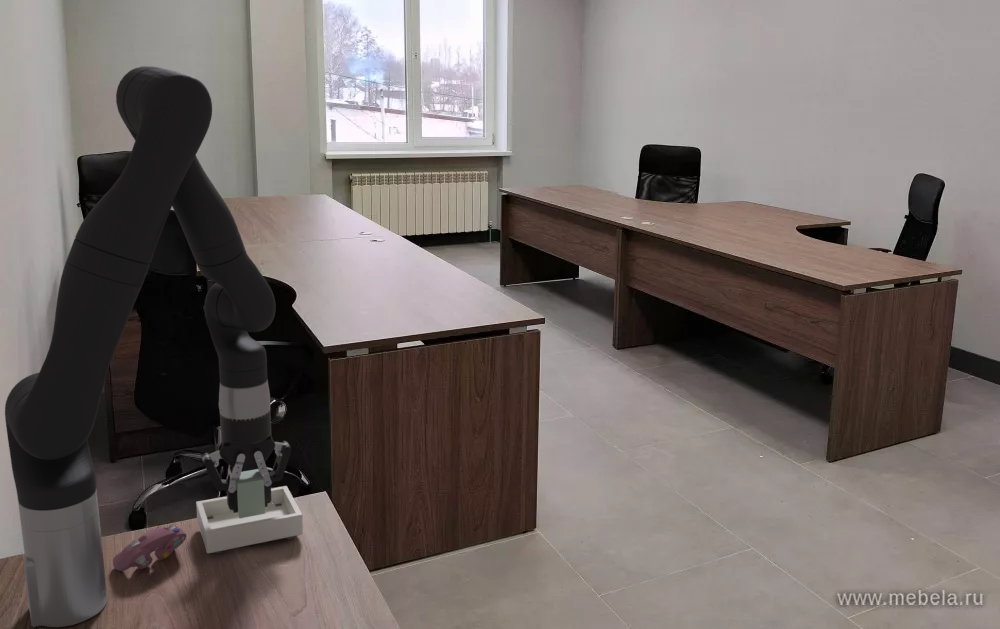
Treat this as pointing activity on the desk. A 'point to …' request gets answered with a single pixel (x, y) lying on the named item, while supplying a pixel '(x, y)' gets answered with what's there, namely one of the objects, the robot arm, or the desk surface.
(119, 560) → the video game controller
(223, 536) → the white planter box
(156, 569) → the desk surface
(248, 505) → the sage block
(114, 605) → the desk surface
